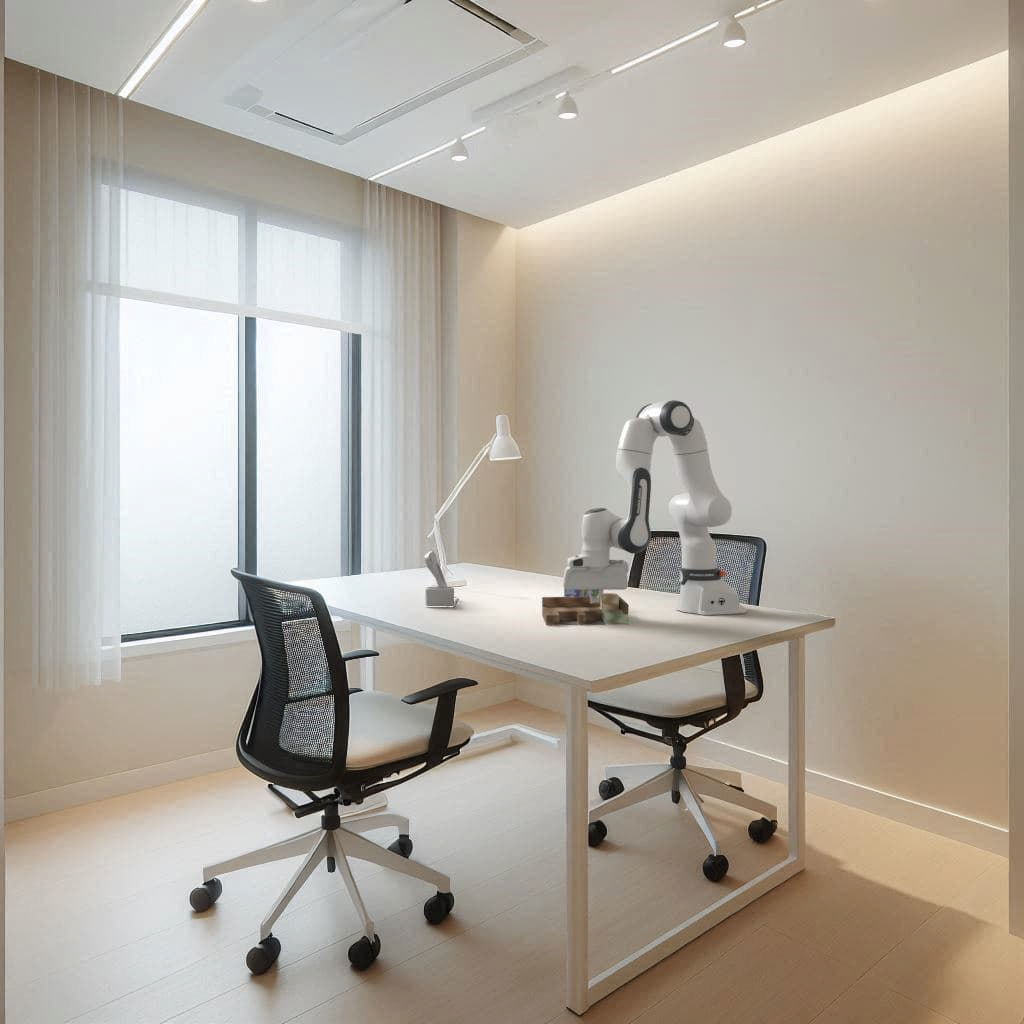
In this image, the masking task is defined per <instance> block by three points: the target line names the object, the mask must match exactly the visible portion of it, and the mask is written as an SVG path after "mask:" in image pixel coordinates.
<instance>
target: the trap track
mask: <svg viewBox="0 0 1024 1024" xmlns="http://www.w3.org/2000/svg"><path fill="white" fill-rule="evenodd" d="M593 598H597V597H593ZM541 600H542V601H541V616H542V619H543V620H544V623H545V625H546V626H585V625H586V626H588V625H589V626H590V625H591V626H592V625H594V626H595V625H598V626H599V625H603V626H604V625H629V616H630V615H629V603H627V601H625V600H624V599H623V598H622V596H619V610H602V608H601V607H600V604H591V603H590V597H564V596H542V597H541Z"/></svg>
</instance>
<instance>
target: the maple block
mask: <svg viewBox="0 0 1024 1024" xmlns="http://www.w3.org/2000/svg"><path fill="white" fill-rule="evenodd" d="M600 607H601V608H602V610H619V594H618V593H617V592H603V595H602V596H601V598H600Z"/></svg>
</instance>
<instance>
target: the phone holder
mask: <svg viewBox="0 0 1024 1024" xmlns="http://www.w3.org/2000/svg"><path fill="white" fill-rule="evenodd" d="M424 561H425V564H426V566H427V569H428V570H429V571H430V573H431V575H432V576H433V577H434V579H435V581H436V584H437V586H428V587H425V605H426V606H454V605H455V604H457V603H456V602H458V601H459V596H458V597H457V596H455V588H454V587H452V586H451V587H450V586H448V585H447V582H446V579H445V576H444V574H443V570H442V568H441V564H440V563H439V560H438V557H437V555H436V553H435V551H434V550H431V551H428V552H427V553H426V554H425V555H424ZM454 598H456V599H455V601H454ZM457 600H458V601H457ZM455 606H456V605H455Z"/></svg>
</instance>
